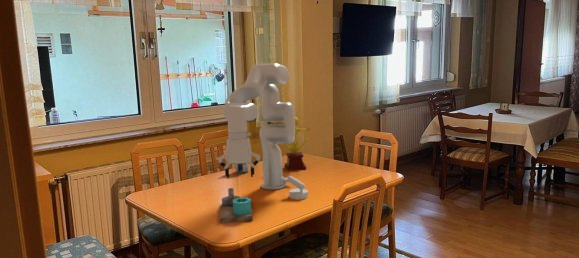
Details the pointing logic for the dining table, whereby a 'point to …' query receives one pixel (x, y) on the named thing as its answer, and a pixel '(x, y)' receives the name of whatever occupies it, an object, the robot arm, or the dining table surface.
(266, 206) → the dining table surface
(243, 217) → the board
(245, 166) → the decorative ornament
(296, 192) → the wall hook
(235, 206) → the collar
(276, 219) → the dining table surface
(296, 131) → the potted plant
